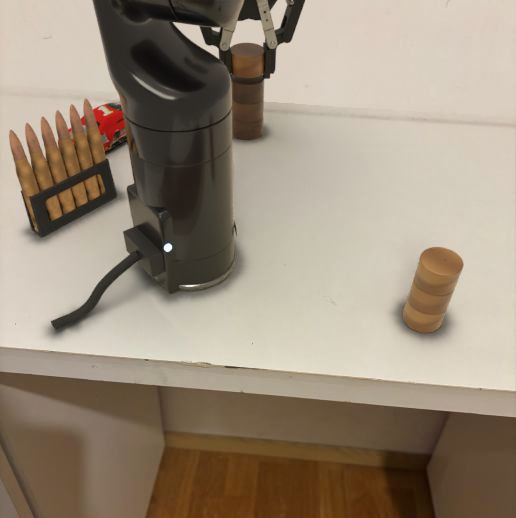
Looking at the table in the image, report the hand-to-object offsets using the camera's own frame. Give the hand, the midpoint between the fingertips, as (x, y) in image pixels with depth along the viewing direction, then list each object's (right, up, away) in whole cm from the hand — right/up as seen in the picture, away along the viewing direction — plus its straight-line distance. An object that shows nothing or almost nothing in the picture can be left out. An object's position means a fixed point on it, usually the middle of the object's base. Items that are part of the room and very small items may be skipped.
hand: (247, 76), depth 73 cm
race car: (-19, -7, +3) cm, 21 cm away
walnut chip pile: (0, -5, +6) cm, 8 cm away
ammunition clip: (-20, -19, -7) cm, 28 cm away
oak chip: (0, +1, 0) cm, 1 cm away
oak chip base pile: (+17, -32, -17) cm, 40 cm away
